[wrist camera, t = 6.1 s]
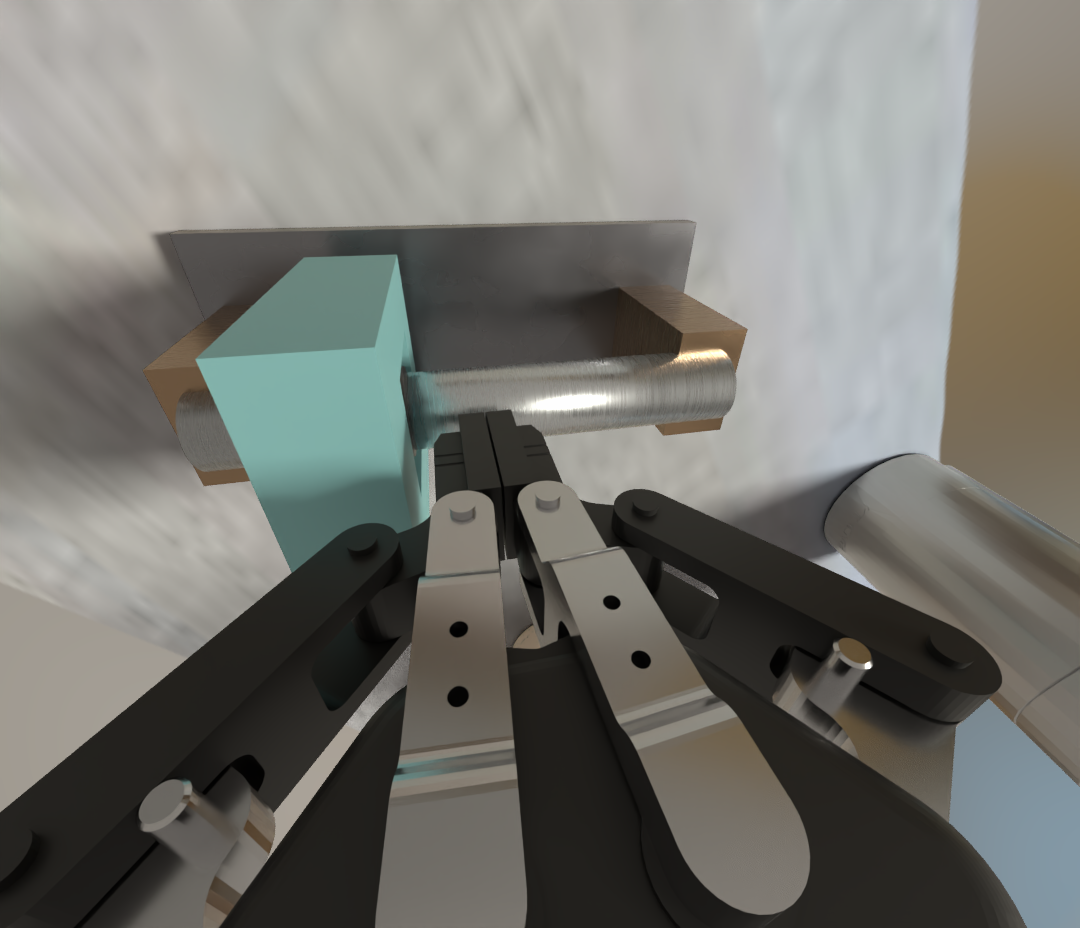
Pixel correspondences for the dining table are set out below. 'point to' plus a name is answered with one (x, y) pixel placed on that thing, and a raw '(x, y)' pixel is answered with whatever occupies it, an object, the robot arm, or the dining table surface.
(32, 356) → the dining table surface
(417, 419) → the pipe rig
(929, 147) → the dining table surface
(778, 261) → the dining table surface
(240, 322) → the collar
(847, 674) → the robot arm
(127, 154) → the dining table surface
